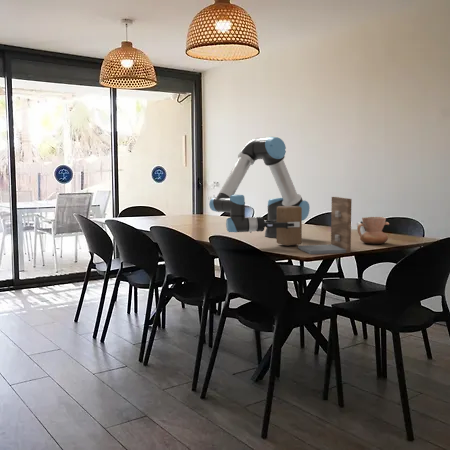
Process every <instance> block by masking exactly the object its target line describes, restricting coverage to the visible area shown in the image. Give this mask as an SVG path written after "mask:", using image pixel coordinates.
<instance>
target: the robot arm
mask: <svg viewBox="0 0 450 450" xmlns="http://www.w3.org/2000/svg"><path fill="white" fill-rule="evenodd" d="M286 149H287V147H286V143H285V142H284V140H283V139H282V138H280V137H276V136H269V137H256V138H253V139H251V140H249V141H248V142H247V143H246V144H245V145H244V146H243V147H242V149H241V150H240V152H239V154H238V155H237V158H238V159H237V160H236V163H235V164H234V166H233V168H232V170H231V171H230V173H229V175H228V176H227V178H226V180H225V182H224V183H223V186H222V187H221V189H220V191H219V193H218V194H217V196H214V197H212V198H210V200H209V208H210V210H211V211H213V212H218V213H230V216H229V217H228V218H226V222H225V226H226V227H225V228H226V230H227V232H228V233H250V234H252V232H258V233H259V232H264V231H265V232H264V236H265V238H276V239H277V228H286V229H288V227H300V222H277V207H278V206H299V207H301V208H302V221H305V220H306V219H307V218H308V216H309V214H310V203H309V202H308V201H307V200H306V199H305V200H304V199H303V198H302V195H301V194H299V193H298V192H297V190H296V188H295V185H294V182H293V180H292V178H291V175H290V172H289V170H288V169H287V165H286V164H285V160H284V159H285V158H286V156H285V155H286V152H287V151H286ZM257 160H263V163H264V165H265V166H267V167H269V170H270V171H271V174H272V178H273V179H274V182H275V184H276V186H277V188H278V191H279V193H280V195H281V197H277V198H270V199H268V201H267V219H266V220H265V219H264V217H263V216H257V217H255V216H249V217H248V216H247V217H246V212H245V211H246V209H245V208H246V201H245V195H244V194H236V192H237V190H238V189H239V187H240V185H241V183H242V181H243V179H244V178H245V176H246V174H247V172H248V171H249V168H250V167H251V166H253V165H254V163H255V162H256V161H257ZM265 228H266V229H265Z"/></svg>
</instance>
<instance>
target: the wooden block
mask: <svg viewBox="0 0 450 450" xmlns="http://www.w3.org/2000/svg"><path fill="white" fill-rule="evenodd" d="M302 221H303V220H302V208H301V207H299V206H278V207H277V222H300V227H288V229H286V228H277V238H276V243H277V244H278V245H283V246H287V247H288V246H295V245H298V246H300V245H301V244H302V239H303V238H302V237H303V235H302V234H303V232H302V231H303V229H302V228H303V226H302V225H303V224H302V223H303V222H302Z"/></svg>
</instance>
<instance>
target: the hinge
mask: <svg viewBox="0 0 450 450" xmlns="http://www.w3.org/2000/svg"><path fill="white" fill-rule="evenodd" d="M359 224H363V221H362V220H361V221H359V222H356V227H358V225H359ZM360 232H361V234H363V233H365V232H366V229H365V227H363V226H361V227H360Z"/></svg>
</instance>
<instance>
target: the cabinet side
mask: <svg viewBox="0 0 450 450" xmlns="http://www.w3.org/2000/svg"><path fill="white" fill-rule="evenodd" d="M330 215H331V216H330V217H331V218H330V220H331V222H330V225H331V227H330V229H331V230H330V232H331V233H330V245H331V244H332V245H335V246H337V247H340V248H343V249H346V253H345V254H351V252H352V251H351V249H352V247H351V245H352V244H351V243H352V198H347V197H341V196H340V197H339V196H331V214H330Z"/></svg>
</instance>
